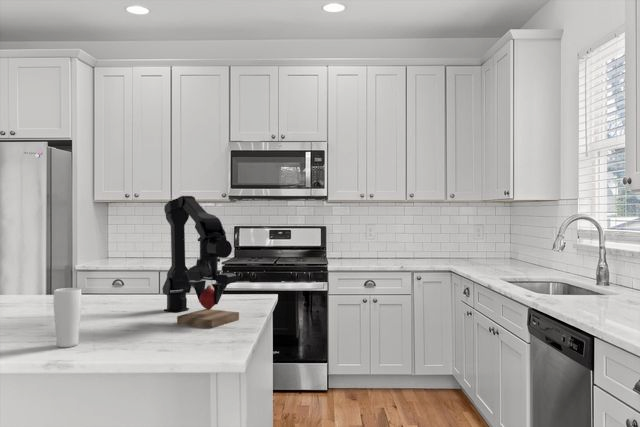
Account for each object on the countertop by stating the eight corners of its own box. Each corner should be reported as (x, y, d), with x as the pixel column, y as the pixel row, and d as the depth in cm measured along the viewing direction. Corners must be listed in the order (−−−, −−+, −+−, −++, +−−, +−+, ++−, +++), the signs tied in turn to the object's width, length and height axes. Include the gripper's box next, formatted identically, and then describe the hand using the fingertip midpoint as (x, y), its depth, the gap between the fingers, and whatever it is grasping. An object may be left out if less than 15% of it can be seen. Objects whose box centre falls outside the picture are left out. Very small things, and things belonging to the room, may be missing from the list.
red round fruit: (213, 311, 163) (213, 286, 163) (196, 311, 165) (196, 286, 165) (220, 308, 169) (220, 284, 169) (204, 307, 170) (204, 283, 170)
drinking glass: (59, 342, 140) (60, 287, 140) (85, 342, 140) (85, 287, 140) (48, 349, 133) (49, 291, 133) (75, 348, 134) (75, 291, 134)
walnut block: (177, 325, 164) (177, 316, 164) (205, 317, 176) (205, 308, 176) (212, 330, 157) (212, 320, 157) (238, 321, 170) (238, 312, 170)
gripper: (169, 256, 164) (169, 305, 164) (215, 259, 155) (215, 310, 155) (192, 253, 174) (192, 299, 174) (237, 256, 165) (237, 304, 165)
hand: (208, 303), depth 167 cm, fingers closed on red round fruit, 6 cm apart
